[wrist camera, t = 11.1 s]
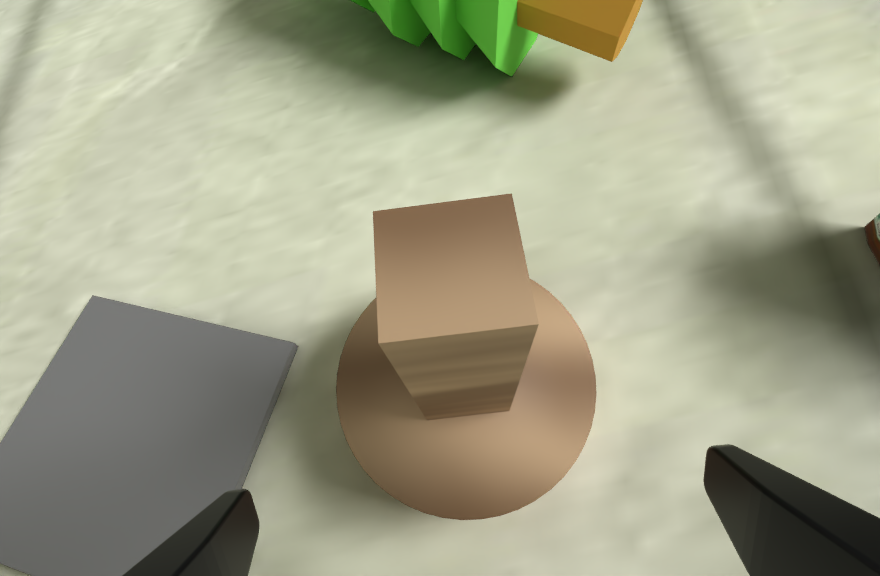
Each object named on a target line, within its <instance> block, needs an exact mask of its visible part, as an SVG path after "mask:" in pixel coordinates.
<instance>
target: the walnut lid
mask: <svg viewBox="0 0 880 576" xmlns="http://www.w3.org/2000/svg"><path fill="white" fill-rule="evenodd" d="M373 224H374V248H375V273H376V298H375V299H374V300H373V301H372V302H371V303H370V304H369V306H368V307H367V308H366V309H365V310H364V312H363V313H362V314H361V315H360V317H359V318H358V320H357V322H356V323H355V325H354V326H353V328H352V330H351V332H350V334H349V336H348V338H347V340H346V342H345V346H344V349H343V352H342V355H341V358H340V363H339V368H338V373H337V386H336V394H337V408H338V413H339V418H340V423H341V426H342V429H343V432H344V435H345V438H346V440H347V442H348V444H349V446H350V448H351V450H352V452H353V454H354V456H355V458H356V459H357V461H358V462H359V463H360V465H361V466H362V468H363V469H364V471H365V472H366V473H367V474H368V475H369V476H370V477H371V478H372V479H373V481H374V482H375V483H376V484H377V485H379V486H380V487H381V488H382V489H383V490H385V491H386V492H387V493H388V494H389V495H391V496H392V497H394V498H395V499H397V500H399V501H400V502H402V503H404V504H405V505H407V506H409V507H412V508H414V509H416V510H419V511H421V512H423V513H427V514H431V515H434V516H438V517H442V518H450V519H458V520H473V519H485V518H490V517H496V516H501V515H504V514H507V513H509V512H512V511H515V510H518V509H520V508H522V507H524V506H526V505H528V504H530V503H532V502H534V501H535V500H537V499H538V498H540V497H541V496H542V495H544V494H545V493H547V492H548V491H549V490H551V489H552V488H553V487H554V486H555V485H556V484H557V483H558V482H559V481H560V480H561V479H562V478H563V477H564V476H565V475H566V473H567V472H568V471H569V469H570V468H571V467H572V465H573V464H574V463H575V461H576V460H577V458H578V456H579V454H580V452H581V451H582V449H583V447H584V445H585V442H586V440H587V437H588V435H589V432H590V429H591V426H592V421H593V417H594V413H595V403H596V378H595V372H594V366H593V361H592V357H591V354H590V351H589V348H588V345H587V343H586V340H585V338H584V336H583V334H582V332H581V330H580V328H579V327H578V325H577V323H576V322H575V320H574V319H573V317H572V316H571V314H570V313H569V312H568V311H567V310H566V308H565V307H564V306H563V305H562V304H561V302H559V301H558V300H557V299H556V298H555V297H554V296H553V295H552V294H551V293H550V292H549V291H547V290H546V289H545V288H543V287H542V286H541V285H539V284H538V283H536V282H535V281H533V280H531V279H529V275H528V270H527V265H526V260H525V255H524V251H523V246H522V241H521V236H520V231H519V226H518V222H517V217H516V212H515V207H514V202H513V198H512V194H505V195H497V196H489V197H481V198H473V199H466V200H458V201H450V202H442V203H435V204H427V205H419V206H411V207H403V208H396V209H388V210H380V211H373Z"/></svg>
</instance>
